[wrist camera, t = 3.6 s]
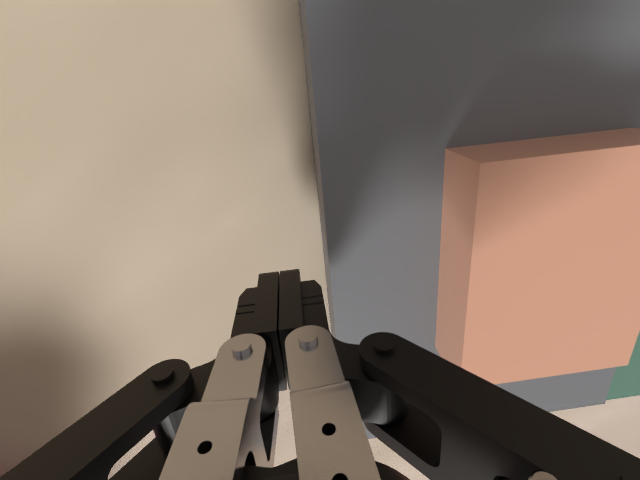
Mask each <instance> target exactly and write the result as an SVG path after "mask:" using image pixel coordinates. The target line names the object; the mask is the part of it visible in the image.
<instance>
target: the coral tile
mask: <svg viewBox="0 0 640 480" xmlns="http://www.w3.org/2000/svg"><path fill="white" fill-rule="evenodd" d="M639 331H640V128H624V129H615V130H606V131H597V132H588V133H579V134H570V135H561V136H553V137H544V138H535V139H526V140H517V141H508V142H499V143H490V144H482V145H473V146H464V147H455V148H446V149H445V163H444V182H443V202H442V221H441V241H440V260H439V280H438V300H437V319H436V339H435V348H436V349H437V351H438V353H439V355H440V356H441V357H442V358H444V359H445V360H447V361H449V362H451V363H453V364H455V365H457V366H459V367H461V368H463V369H465V370H467V371H469V372H471V373H473V374H475V375H477V376H479V377H481V378H483V379H485V380H487V381H489V382H490V383H492V384H494V385H495V384H502V383H509V382H516V381H522V380H529V379H536V378H543V377H550V376H557V375H564V374H571V373H578V372H585V371H592V370H598V369H605V368H612V367H619V366H626V365H628V363H629V360H630V357H631V355H632V352H633V349H634V346H635V343H636V340H637V337H638V334H639Z"/></svg>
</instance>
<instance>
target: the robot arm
mask: <svg viewBox="0 0 640 480" xmlns="http://www.w3.org/2000/svg"><path fill="white" fill-rule="evenodd" d="M287 382H288V387H289V389H290V401H291V410H292V419H293V428H294V436H295V445H296V454H297V458H296V459H294V460H291V461H289V462H286V463H284V464H282V465H279V466H276V467H273V466H274V456H275V446H276V437H277V427H278V417H279V410H278V400H279V391H283V390H287ZM363 422H364V425H365V427H366V428H367V430H368V431H369V432H370V433H371V434H373V435H374V436H375V437H377V438H378V439H379V440H380V441H382V442H383V443H384V444H385V445H387V446H388V447H389V448H391V449H392V450H393V451H394V452H396V453H397V454H398V455H399V456H401V457H402V458H403V459H405V460H406V461H407V462H408V463H410V464H411V465H412V466H413V467H415V468H416V469H417V470H419V471H420V472H421V473H422V474H424V475H425V476H426V477H427V478H429V479H430V480H640V459H639V458H637V457H635V456H633V455H631V454H629V453H627V452H625V451H623V450H622V449H620V448H618V447H616V446H614V445H612V444H610V443H608V442H606V441H604V440H602V439H600V438H598V437H596V436H594V435H592V434H590V433H588V432H586V431H584V430H582V429H580V428H578V427H577V426H575V425H573V424H571V423H569V422H567V421H565V420H563V419H561V418H559V417H557V416H555V415H553V414H551V413H549V412H547V411H545V410H543V409H541V408H539V407H537V406H535V405H534V404H532V403H530V402H528V401H526V400H524V399H522V398H520V397H518V396H516V395H514V394H512V393H510V392H508V391H506V390H504V389H502V388H500V387H498V386H496V385H494V384H492V383H490V382H489V381H487V380H485V379H483V378H481V377H479V376H477V375H475V374H473V373H471V372H469V371H467V370H465V369H463V368H461V367H459V366H457V365H455V364H453V363H451V362H449V361H447V360H445V359H444V358H442V357H440V356H438V355H436V354H434V353H432V352H430V351H428V350H426V349H424V348H422V347H420V346H418V345H416V344H414V343H412V342H410V341H408V340H406V339H404V338H402V337H400V336H398V335H396V334H393V333H389V332H377V333H373V334H370V335H368V336H366V337H365V338H364V339H362V341H361V342H360V344H359V345H358V344H349V343H345V342H342V341H339V340H338V339H336V338H335V337H333V336H332V334H331V333H330V331H329V327H328V322H327V316H326V310H325V305H324V299H323V294H322V288H321V286H320V285H319V284H318V283H317V282H316V281H315V280H310V281H302V282H301V280H300V272H299V269H294V270H286V271H280V275H279V272H271V273H263V274H259V279H258V286H257V287H255V288H247V289H246V290H245V291H244V292H243V293H242V294H241V295H240V297H239V300H238V305H237V310H236V315H235V319H234V324H233V329H232V334H231V338H230V339H229V340H227V341H226V342H225V343H224V344H223V345H222V346H221V347H220V349H219V351H218V354H217V357H216V359H215V360H213V361H211V362H209V363H206V364H203V365H201V366H198V367H195V368H193V369H190V367H189V364H188V363H187V362H185V361H183V360H180V359H170V360H165V361H162V362H160V363H157V364H155V365H153V366H152V367H150V368H149V369H147V370H146V371H145V372H143V373H142V374H141V375H139V376H138V377H136V378H135V379H134V380H132V381H131V382H130V383H128V384H127V385H126V386H124V387H123V388H122V389H120V390H119V391H117V392H116V393H115V394H113V395H112V396H111V397H109V398H108V399H107V400H105V401H104V402H102V403H101V404H100V405H98V406H97V407H96V408H94V409H93V410H92V411H90V412H89V413H88V414H86V415H85V416H83V417H82V418H81V419H79V420H78V421H77V422H75V423H74V424H73V425H71V426H70V427H68V428H67V429H66V430H64V431H63V432H62V433H60V434H59V435H58V436H56V437H55V438H54V439H52V440H51V441H49V442H48V443H47V444H45V445H44V446H43V447H41V448H40V449H39V450H37V451H36V452H34V453H33V454H32V455H30V456H29V457H28V458H26V459H25V460H24V461H22V462H21V463H20V464H18V465H17V466H15V467H14V468H13V469H11V470H10V471H9V472H7V473H6V474H5V475H3V476H2V477H0V480H108V475H109V472H110V470H111V468H112V467H113V465H114V464H115V463H116V462H117V461H118V460H119V459H120V458H121V457H122V456H123V455H125V454H126V453H127V452H128V451H129V450H130V449H131V448H132V447H134V446H135V445H136V444H137V443H138V442H139V441H140V440H141V439H143V438H144V437H145V436H146V435H147V434H148V433H149V432H150V431H152V430H153V431H154V433H155V436H156V437H155V438H154V439H153V440H152V441H151V442H150V443H149V444H148V445H147V446H145V447H144V448H143V449H142V450H141V451H140V452H139V453H138V454H137V455H136V456H134V457H133V458H132V459H131V460H130V461H129V462H128V463H127V464H126V465H125V466H123V467H122V468H121V469H120V470H119V471H118V472H117V473H116V474H115V475H114V476H112V477H111V478H110V479H109V480H410V479H408V478H407V477H406V476H404V475H403V474H401V473H400V472H398V471H397V470H395V469H393V468H391V467H389V466H387V465H385V464H382V463H379V462H376V461H375V460H374V457H373V454H372V450H371V447H370V444H369V441H368V438H367V435H366V432H365V429H364V425H363Z"/></svg>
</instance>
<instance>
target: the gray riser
mask: <svg viewBox="0 0 640 480" xmlns="http://www.w3.org/2000/svg"><path fill="white" fill-rule="evenodd" d="M299 7H300V18H301V28H302V38H303V48H304V58H305V68H306V78H307V89H308V99H309V109H310V119H311V129H312V139H313V150H314V160H315V170H316V180H317V190H318V200H319V210H320V221H321V231H322V241H323V251H324V261H325V271H326V281H327V292H328V302H329V312H330V322H331V332H332V336H333V337H335V338H336V339H338V340H339V341H342V342H345V343H349V344H358V345H359V344H360V342H361V341H362V339H364V338H365V337H366V336H368V335H370V334H373V333H377V332H389V333H393V334H396V335H398V336H400V337H402V338H404V339H406V340H408V341H410V342H412V343H414V344H416V345H418V346H420V347H422V348H424V349H426V350H428V351H430V352H432V353H434V354H436V355H438V356H440V355H439V353H438V351H437V349H436V348H435V339H436V319H437V300H438V280H439V260H440V241H441V221H442V202H443V182H444V163H445V149H446V148H455V147H464V146H473V145H482V144H490V143H499V142H508V141H517V140H526V139H535V138H544V137H553V136H561V135H570V134H579V133H588V132H597V131H606V130H615V129H624V128H640V0H299ZM440 357H441V356H440ZM615 370H616V367H612V368H605V369H598V370H592V371H585V372H578V373H571V374H564V375H557V376H550V377H543V378H536V379H529V380H522V381H516V382H509V383H502V384H495V385H496V386H498V387H500V388H502V389H504V390H506V391H508V392H510V393H512V394H514V395H516V396H518V397H520V398H522V399H524V400H526V401H528V402H530V403H532V404H534V405H535V406H537V407H539V408H541V409H543V410H545V411H547V412H551V411H558V410H565V409H572V408H578V407H585V406H592V405H598V404H605V401H606V398H607V395H608V392H609V389H610V385H611V382H612V379H613V376H614V373H615ZM363 425H364V422H363ZM364 429H365V432H366V435H367V438H368V439H371V438H377V437H375V436H374V435H373V434H371V433H370V432H369V431H368V430H367V428H366V427H365V425H364Z"/></svg>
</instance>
